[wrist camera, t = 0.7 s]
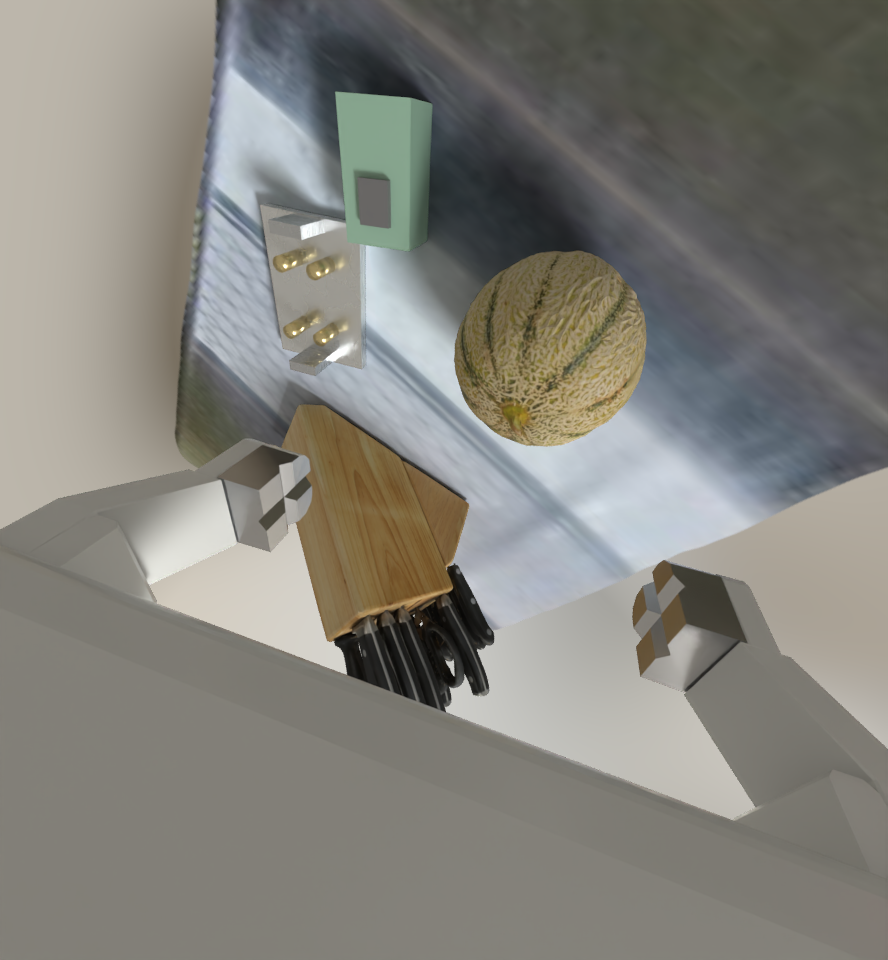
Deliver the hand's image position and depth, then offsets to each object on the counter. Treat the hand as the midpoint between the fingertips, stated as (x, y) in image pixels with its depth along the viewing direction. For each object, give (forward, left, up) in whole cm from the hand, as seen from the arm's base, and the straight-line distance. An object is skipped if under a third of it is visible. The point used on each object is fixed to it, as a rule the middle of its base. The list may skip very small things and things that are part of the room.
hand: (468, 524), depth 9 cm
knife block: (+33, -11, -33) cm, 48 cm away
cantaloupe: (+6, +1, -33) cm, 34 cm away
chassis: (+8, -23, -33) cm, 41 cm away
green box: (-3, -14, -33) cm, 36 cm away
